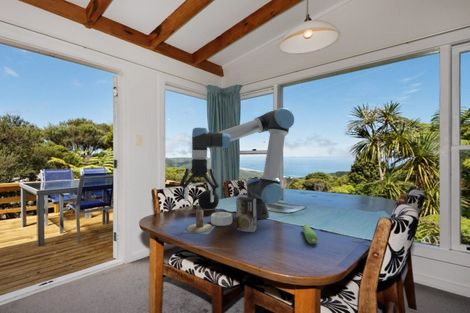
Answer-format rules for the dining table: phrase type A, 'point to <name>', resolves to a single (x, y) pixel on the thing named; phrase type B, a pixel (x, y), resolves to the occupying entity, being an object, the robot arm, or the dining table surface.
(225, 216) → the bowl
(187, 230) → the mat
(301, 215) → the dining table surface
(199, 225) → the lid
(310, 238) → the green oval lump
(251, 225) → the coffee box
